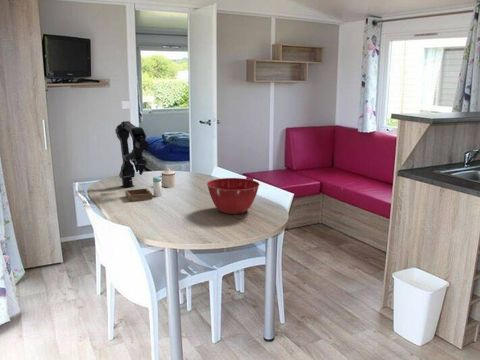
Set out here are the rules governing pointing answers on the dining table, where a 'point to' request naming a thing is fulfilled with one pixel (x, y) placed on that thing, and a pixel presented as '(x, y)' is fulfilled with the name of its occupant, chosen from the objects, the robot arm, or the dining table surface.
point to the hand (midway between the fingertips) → (138, 173)
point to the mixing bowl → (233, 194)
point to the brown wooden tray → (138, 195)
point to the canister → (157, 186)
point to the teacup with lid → (168, 178)
